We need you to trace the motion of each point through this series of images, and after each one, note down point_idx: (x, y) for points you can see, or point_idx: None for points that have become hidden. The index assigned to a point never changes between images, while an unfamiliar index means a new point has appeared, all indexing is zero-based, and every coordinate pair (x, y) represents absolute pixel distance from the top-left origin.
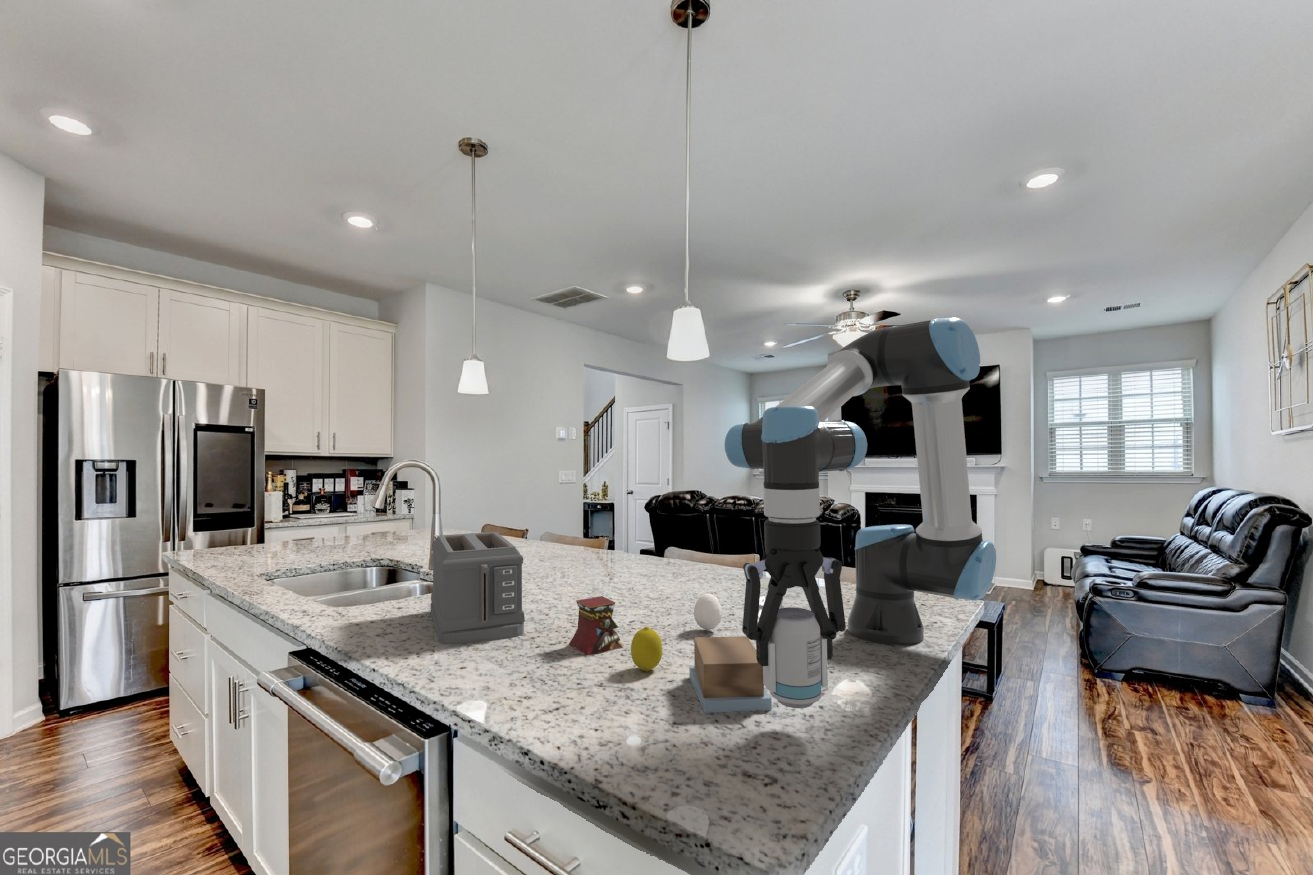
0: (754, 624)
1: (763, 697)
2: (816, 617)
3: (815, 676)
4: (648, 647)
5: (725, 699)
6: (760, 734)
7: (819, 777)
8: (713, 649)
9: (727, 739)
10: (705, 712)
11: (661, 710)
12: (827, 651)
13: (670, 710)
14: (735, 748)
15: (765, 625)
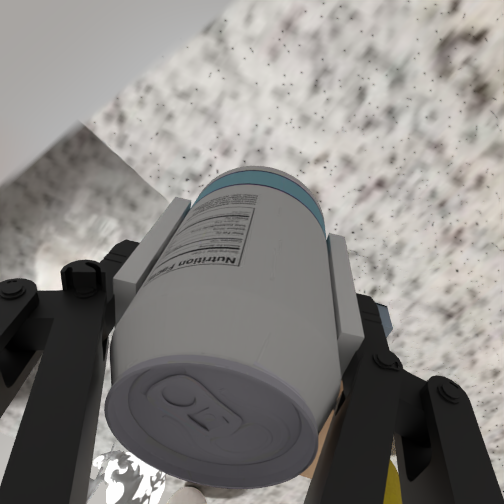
0: (455, 441)
1: None
2: (98, 378)
3: (224, 196)
4: (385, 488)
5: None
6: (332, 219)
7: (342, 8)
8: (319, 435)
9: (405, 231)
10: (387, 313)
11: (435, 355)
12: (127, 258)
13: (421, 349)
14: (418, 197)
15: (393, 417)
